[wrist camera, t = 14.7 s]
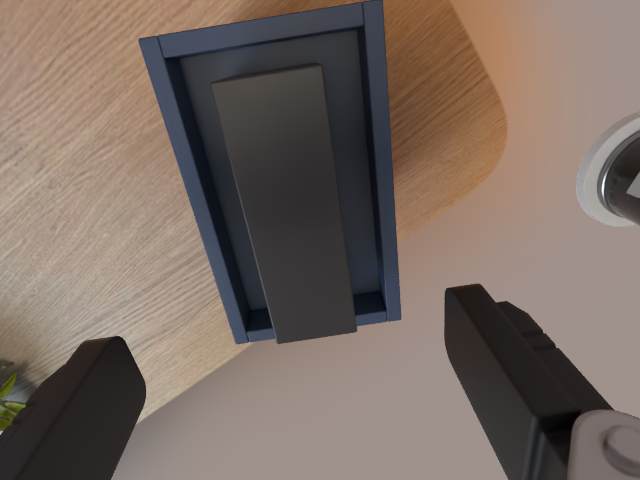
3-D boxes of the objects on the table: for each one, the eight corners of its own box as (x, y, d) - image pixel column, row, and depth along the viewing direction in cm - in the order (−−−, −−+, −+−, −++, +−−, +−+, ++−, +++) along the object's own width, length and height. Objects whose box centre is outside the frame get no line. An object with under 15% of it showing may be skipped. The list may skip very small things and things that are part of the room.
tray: (371, 6, 16) (383, -2, 14) (392, 295, 23) (401, 320, 21) (157, 41, 16) (136, 38, 14) (241, 318, 23) (235, 345, 21)
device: (230, 76, 17) (208, 82, 13) (316, 62, 17) (322, 63, 13) (280, 292, 22) (276, 345, 18) (346, 282, 22) (357, 332, 18)
